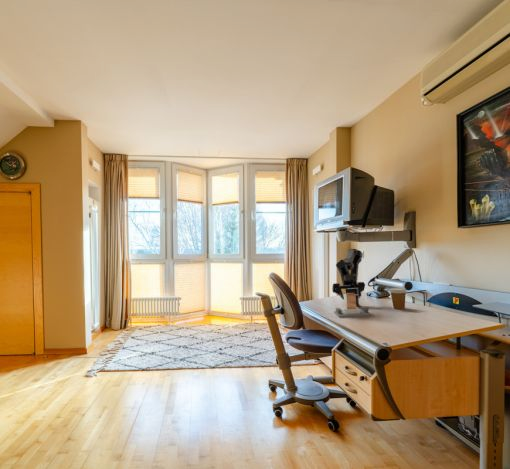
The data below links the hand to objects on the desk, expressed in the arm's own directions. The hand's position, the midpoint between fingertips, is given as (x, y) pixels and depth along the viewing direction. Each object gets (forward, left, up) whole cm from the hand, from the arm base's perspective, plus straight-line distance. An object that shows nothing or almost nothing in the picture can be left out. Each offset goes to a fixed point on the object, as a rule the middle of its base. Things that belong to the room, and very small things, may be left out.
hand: (351, 298), depth 207 cm
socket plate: (-1, 0, -9) cm, 9 cm away
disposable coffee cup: (-17, +28, -9) cm, 34 cm away
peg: (-1, 0, -8) cm, 8 cm away
